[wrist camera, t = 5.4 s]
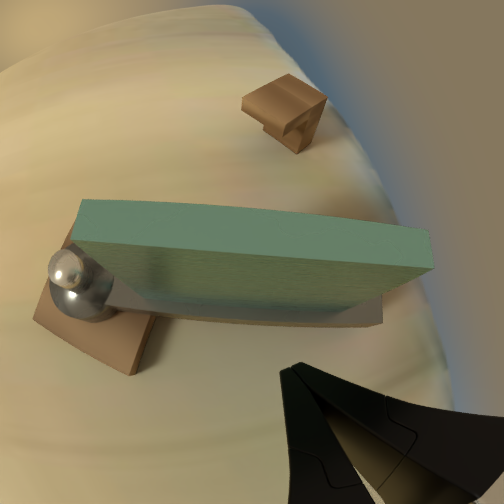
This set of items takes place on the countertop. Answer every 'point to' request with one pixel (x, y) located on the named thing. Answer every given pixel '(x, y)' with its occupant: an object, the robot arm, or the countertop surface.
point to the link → (232, 265)
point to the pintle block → (98, 331)
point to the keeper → (287, 110)
